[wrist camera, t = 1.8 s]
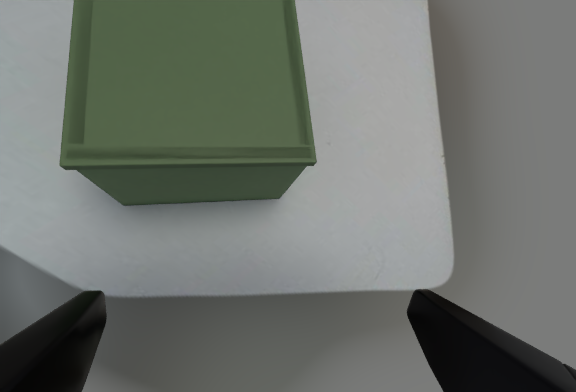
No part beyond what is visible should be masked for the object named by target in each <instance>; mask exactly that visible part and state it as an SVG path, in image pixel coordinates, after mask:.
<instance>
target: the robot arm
mask: <svg viewBox="0 0 576 392" xmlns="http://www.w3.org/2000/svg"><path fill="white" fill-rule="evenodd" d="M407 316H408V319H409V321H410V323H411V325H412V328H413V330H414V332H415V334H416V337H417V339H418V341H419V343H420V346H421V348H422V350H423V353H424V355H425V357H426V359H427V361H428V364H429V366H430V368H431V369H432V371H433V373H434V375H435V377H436V378H437V381H438V382H439V384H440V386H441V388H442V390H443V392H576V370H575V369H573V368H572V367H570V366H568V365H566V364H562V363H561V362H560V361H559V360H557V359H555V358H553V357H551V356H549V355H548V354H546V353H544V352H542V351H540V350H538V349H537V348H535V347H533V346H531V345H529V344H527V343H526V342H524V341H522V340H520V339H518V338H516V337H515V336H513V335H511V334H509V333H507V332H505V331H504V330H502V329H500V328H498V327H496V326H494V325H493V324H491V323H489V322H487V321H485V320H483V319H482V318H480V317H478V316H476V315H474V314H472V313H471V312H469V311H467V310H465V309H463V308H461V307H460V306H458V305H456V304H454V303H452V302H450V301H449V300H447V299H445V298H443V297H441V296H439V295H438V294H436V293H434V292H432V291H430V290H427V289H417V290H415V291H414V292H413V295H412V297H411V300H410V303H409V306H408V309H407ZM105 324H106V305H105V295H104V293H103V292H102V291H84V292H82V293H80V294H78V295H77V296H75V297H74V298H72V299H71V300H69V301H67V302H66V303H64V304H63V305H61V306H60V307H58V308H57V309H55V310H53V311H52V312H50V313H49V314H47V315H46V316H44V317H43V318H41V319H39V320H38V321H36V322H35V323H33V324H32V325H30V326H28V327H27V328H25V329H24V330H23V331H21V332H19V333H18V334H16V335H14V336H13V337H11V338H10V339H8V340H7V341H5V342H4V343H2V344H0V392H82V390H83V387H84V384H85V382H86V379H87V376H88V373H89V370H90V368H91V365H92V362H93V359H94V356H95V353H96V350H97V347H98V344H99V341H100V339H101V336H102V333H103V330H104V327H105Z"/></svg>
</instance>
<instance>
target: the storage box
mask: <svg viewBox="0 0 576 392" xmlns="http://www.w3.org/2000/svg"><path fill="white" fill-rule="evenodd" d="M316 162H317V161H316V154H315V146H314V139H313V132H312V124H311V117H310V110H309V102H308V95H307V87H306V80H305V73H304V65H303V58H302V51H301V43H300V36H299V28H298V21H297V14H296V6H295V0H74V6H73V17H72V29H71V40H70V52H69V63H68V75H67V86H66V97H65V109H64V120H63V132H62V143H61V155H60V166H61V167H62V168H64V169H65V170H77V171H78V172H80V173H81V174H82V175H84V176H85V177H86V178H88V179H89V180H90V181H92V182H93V183H94V184H96V185H97V186H98V187H100V188H101V189H102V190H104V191H105V192H106V193H108V194H109V195H110V196H112V197H113V198H114V199H116V200H117V201H118V202H120V203H121V204H122V205H124V206H126V205H148V204H170V203H192V202H214V201H236V200H258V199H279V198H280V197H281V196H282V195H283V194H284V193H285V192H286V190H287V189H288V188H289V187H290V186H291V184H292V183H293V182H294V181H295V180H296V178H297V177H298V176H299V175H300V174H301V172H302V171H303V170H304V169H305V168H306V167H307V166H314V165H315V164H316Z"/></svg>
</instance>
